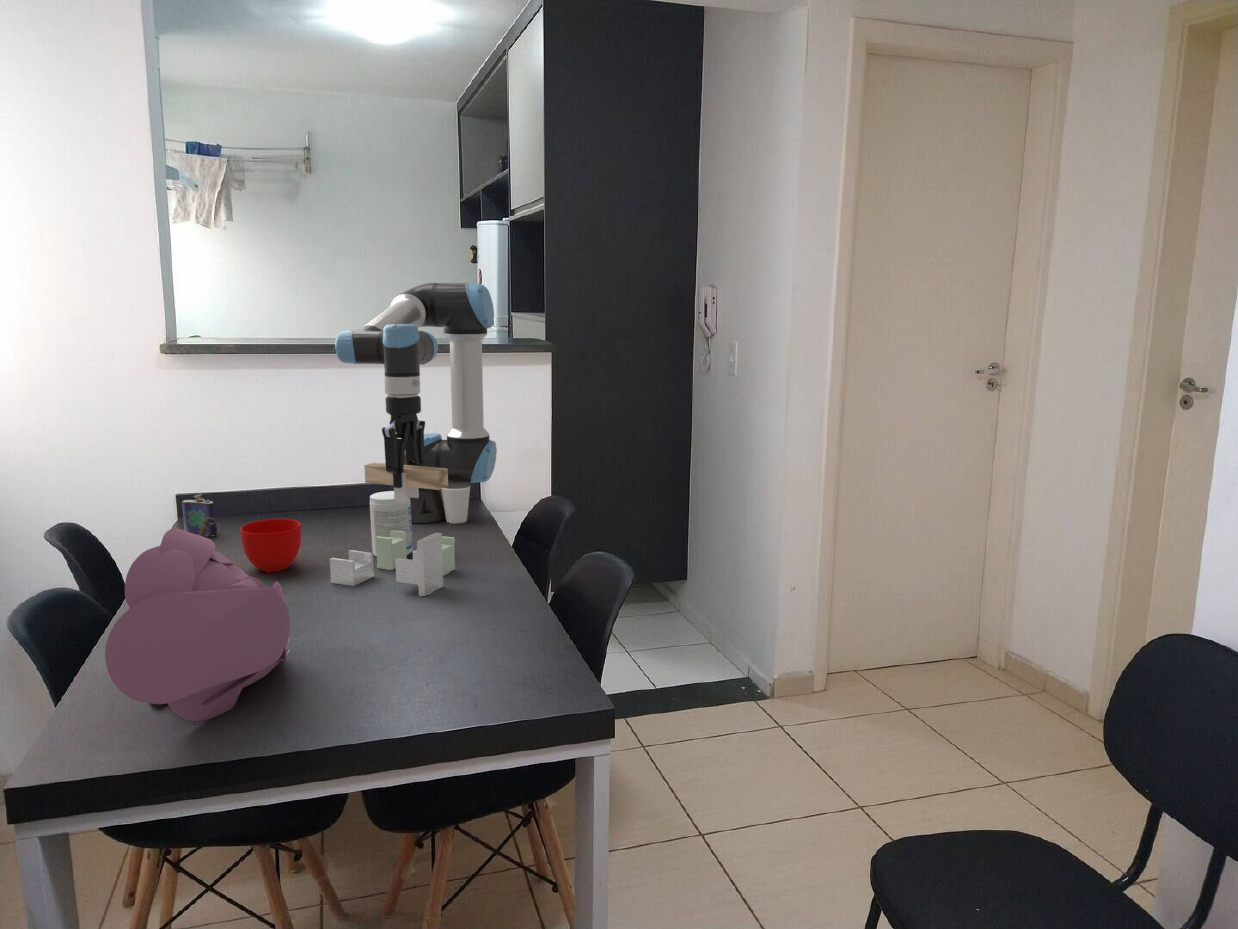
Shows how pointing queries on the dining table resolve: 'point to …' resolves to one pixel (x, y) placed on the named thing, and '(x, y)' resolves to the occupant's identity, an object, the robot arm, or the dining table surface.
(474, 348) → the robot arm
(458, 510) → the dixie cup
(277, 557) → the ceramic cup
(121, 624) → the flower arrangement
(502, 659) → the dining table surface
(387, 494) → the supplement tub
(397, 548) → the rack
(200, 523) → the flask
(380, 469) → the rail
